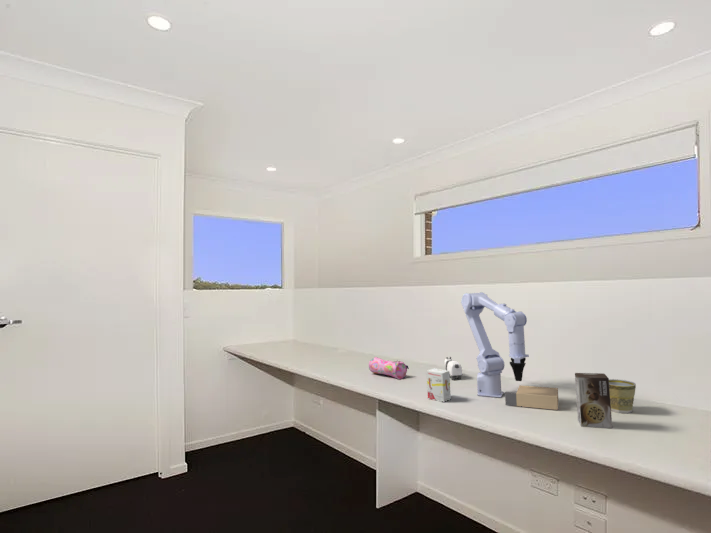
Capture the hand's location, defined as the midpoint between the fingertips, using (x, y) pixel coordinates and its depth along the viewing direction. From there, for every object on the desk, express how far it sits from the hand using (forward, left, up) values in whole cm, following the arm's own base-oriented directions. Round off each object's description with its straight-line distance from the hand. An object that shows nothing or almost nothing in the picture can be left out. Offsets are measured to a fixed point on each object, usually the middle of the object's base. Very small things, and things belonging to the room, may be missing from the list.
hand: (518, 378), depth 161 cm
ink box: (-31, -4, -10) cm, 33 cm away
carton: (+6, +3, -10) cm, 12 cm away
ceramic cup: (+34, +5, -10) cm, 36 cm away
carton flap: (+4, -4, -10) cm, 11 cm away
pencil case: (-67, +29, -10) cm, 74 cm away
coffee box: (+24, -15, -10) cm, 30 cm away
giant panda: (-35, +35, -10) cm, 50 cm away
